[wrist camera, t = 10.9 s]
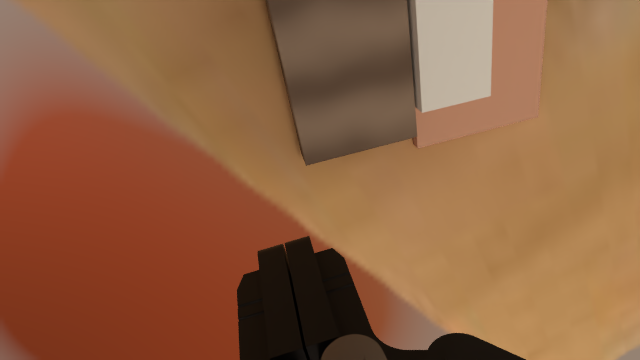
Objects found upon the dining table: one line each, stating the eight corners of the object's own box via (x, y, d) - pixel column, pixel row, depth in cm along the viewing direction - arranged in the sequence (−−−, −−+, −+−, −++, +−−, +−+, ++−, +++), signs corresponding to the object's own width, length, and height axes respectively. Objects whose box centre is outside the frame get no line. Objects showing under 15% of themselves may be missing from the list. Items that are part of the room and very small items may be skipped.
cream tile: (402, -8, 32) (415, -5, 30) (476, -24, 33) (494, -22, 31) (410, 103, 37) (422, 112, 35) (475, 87, 37) (490, 96, 35)
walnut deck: (262, -14, 31) (265, -11, 29) (391, -43, 32) (403, -43, 30) (301, 153, 38) (306, 165, 36) (406, 126, 39) (417, 136, 37)
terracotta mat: (395, -75, 31) (400, -76, 30) (547, -108, 32) (556, -110, 31) (413, 144, 40) (417, 148, 39) (531, 113, 41) (538, 117, 40)
